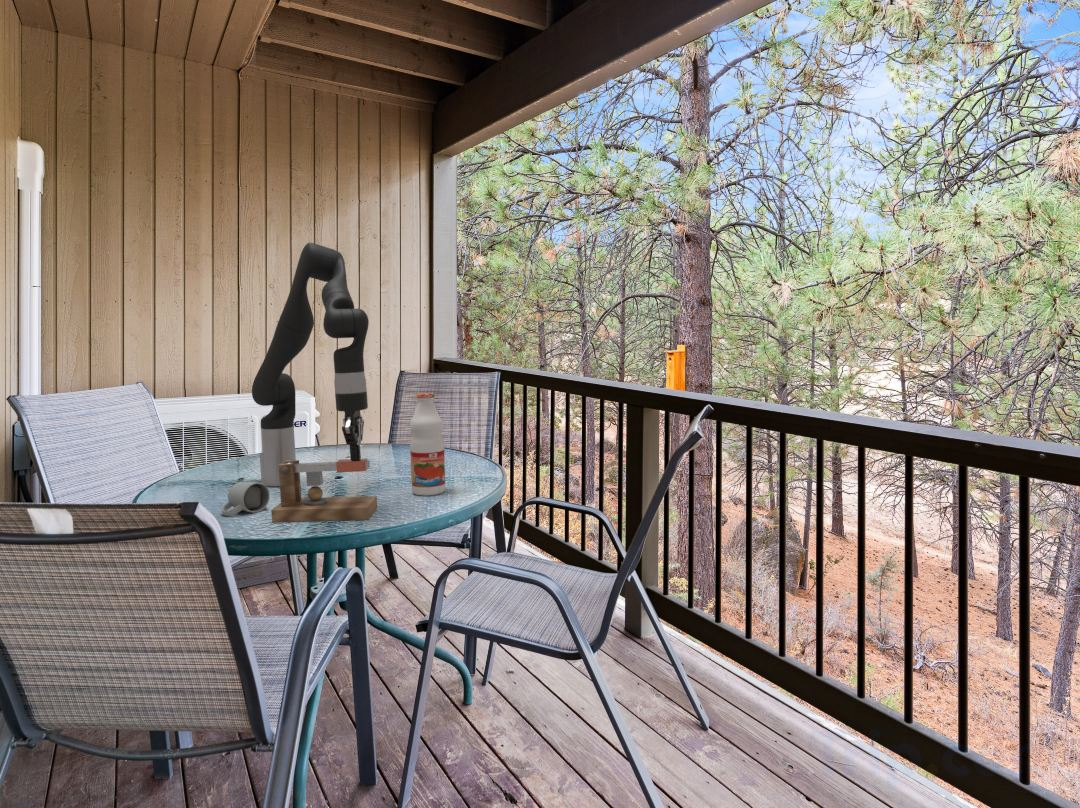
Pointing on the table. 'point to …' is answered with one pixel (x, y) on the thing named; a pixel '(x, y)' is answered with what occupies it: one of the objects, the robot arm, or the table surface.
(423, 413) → the fruit juice
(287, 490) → the base
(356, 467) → the lever
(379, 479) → the table surface
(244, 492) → the ceramic mug
